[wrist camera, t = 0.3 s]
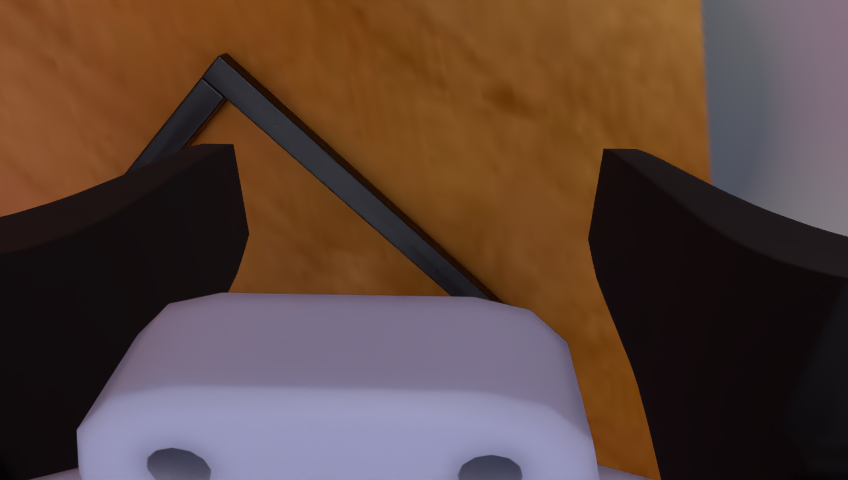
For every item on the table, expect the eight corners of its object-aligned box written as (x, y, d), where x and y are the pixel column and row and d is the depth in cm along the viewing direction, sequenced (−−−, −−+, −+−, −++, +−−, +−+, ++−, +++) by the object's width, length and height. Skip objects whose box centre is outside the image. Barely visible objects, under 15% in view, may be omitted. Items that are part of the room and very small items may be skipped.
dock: (420, 475, 28) (420, 488, 28) (89, 223, 24) (78, 231, 23) (568, 360, 26) (571, 371, 25) (226, 52, 21) (218, 55, 20)
